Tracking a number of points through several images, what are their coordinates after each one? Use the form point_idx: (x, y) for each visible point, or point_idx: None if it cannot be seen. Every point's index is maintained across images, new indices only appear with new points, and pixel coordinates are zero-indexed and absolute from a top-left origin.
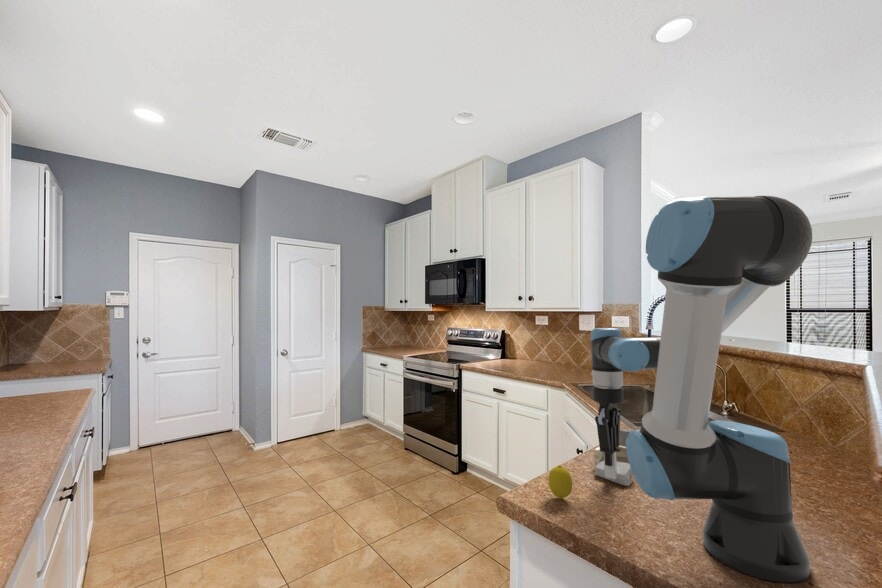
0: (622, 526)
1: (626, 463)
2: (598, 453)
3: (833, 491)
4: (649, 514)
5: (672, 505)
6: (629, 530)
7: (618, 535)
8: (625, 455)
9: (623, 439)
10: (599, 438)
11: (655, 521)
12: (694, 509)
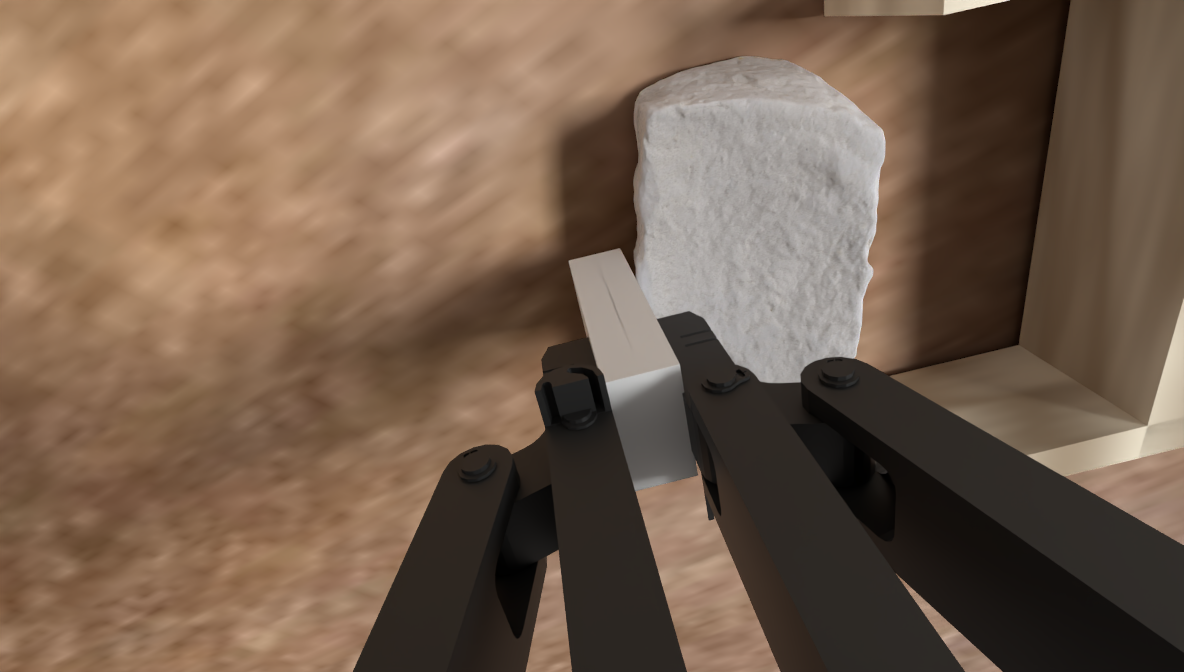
0: (133, 619)
1: (844, 351)
2: (918, 12)
3: None
4: None
5: None
6: (139, 649)
7: (35, 653)
8: (1132, 170)
9: None
10: (366, 666)
11: (356, 652)
12: None
